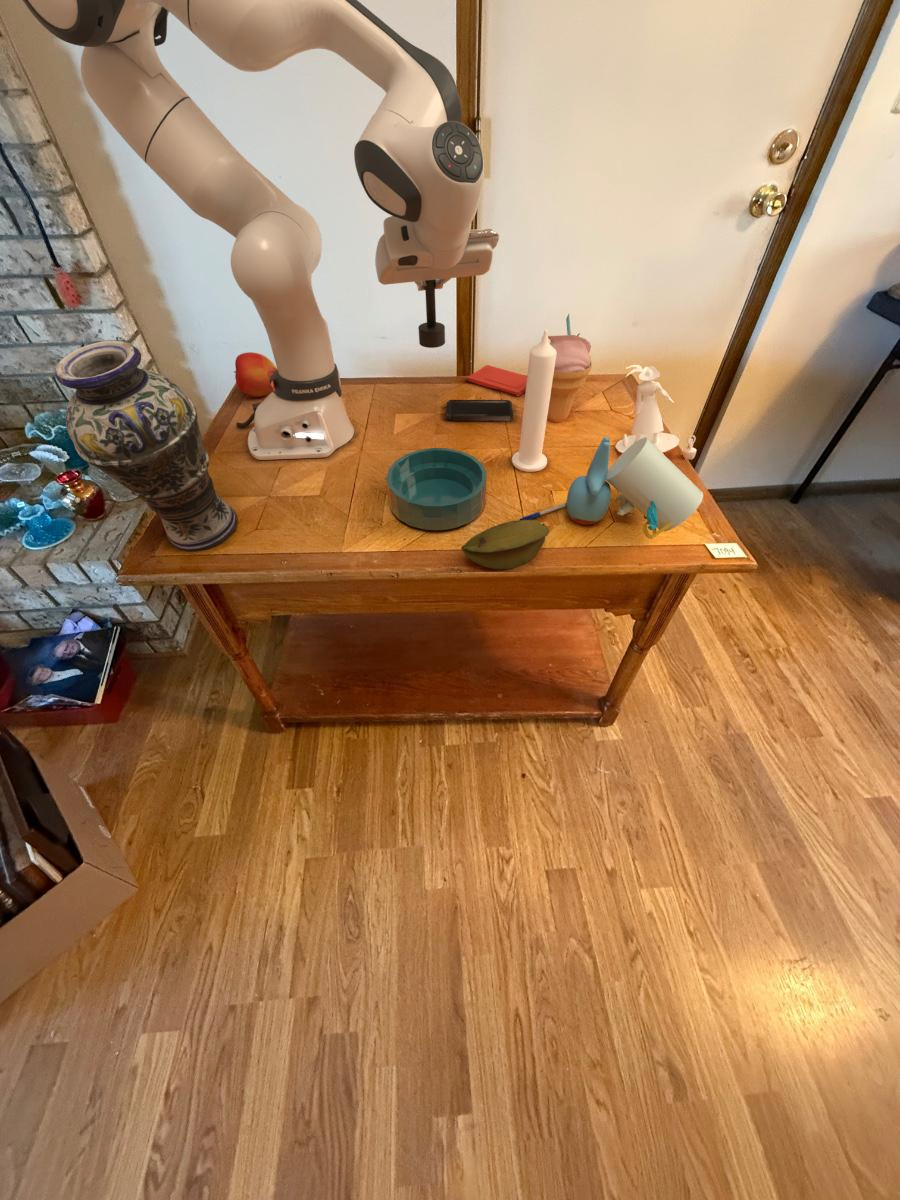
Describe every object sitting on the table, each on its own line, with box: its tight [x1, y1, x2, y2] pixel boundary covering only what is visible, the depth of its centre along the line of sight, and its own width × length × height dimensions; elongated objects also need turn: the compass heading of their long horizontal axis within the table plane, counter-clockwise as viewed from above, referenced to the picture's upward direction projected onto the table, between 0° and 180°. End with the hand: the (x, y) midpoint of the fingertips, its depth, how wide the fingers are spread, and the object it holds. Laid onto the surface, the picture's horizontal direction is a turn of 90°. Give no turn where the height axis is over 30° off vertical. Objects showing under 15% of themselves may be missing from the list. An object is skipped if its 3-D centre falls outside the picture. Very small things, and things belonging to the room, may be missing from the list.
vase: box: [54, 340, 238, 552], centre depth 74 cm, size 17×17×30 cm
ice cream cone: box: [547, 313, 593, 423], centre depth 104 cm, size 11×11×20 cm
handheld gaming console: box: [467, 364, 527, 397], centre depth 123 cm, size 9×1×15 cm
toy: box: [566, 436, 612, 525], centre depth 83 cm, size 10×7×15 cm
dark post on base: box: [418, 280, 446, 349], centre depth 93 cm, size 5×5×18 cm
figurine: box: [614, 364, 698, 461], centre depth 96 cm, size 16×12×20 cm
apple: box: [233, 351, 277, 398], centre depth 117 cm, size 10×10×10 cm
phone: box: [445, 399, 514, 422], centre depth 113 cm, size 8×1×15 cm
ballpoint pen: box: [519, 502, 567, 520], centre depth 88 cm, size 10×1×1 cm, turn 116°
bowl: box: [385, 447, 488, 531], centre depth 89 cm, size 18×18×6 cm
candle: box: [511, 329, 557, 473], centre depth 91 cm, size 7×7×25 cm
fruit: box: [460, 519, 551, 570], centre depth 79 cm, size 11×12×7 cm
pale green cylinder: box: [606, 438, 704, 540], centre depth 83 cm, size 20×12×13 cm
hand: (429, 286), depth 92 cm, fingers closed on dark post on base
